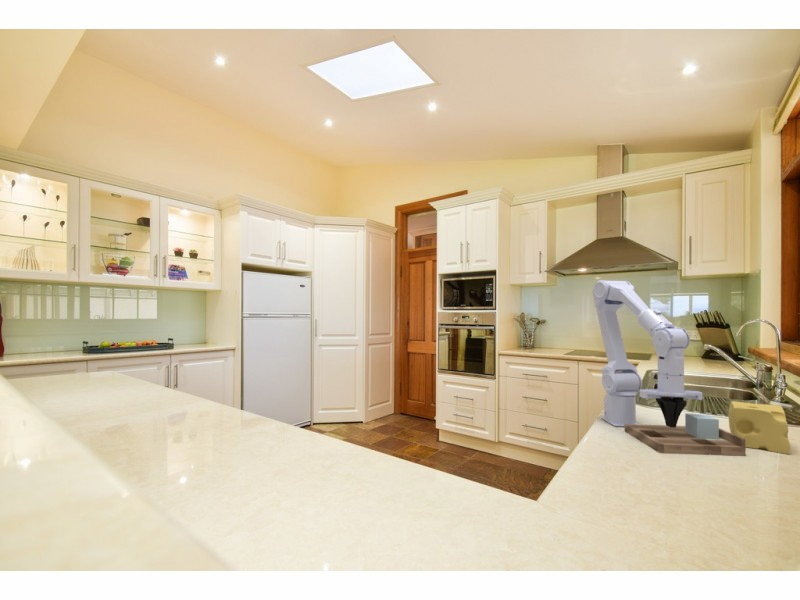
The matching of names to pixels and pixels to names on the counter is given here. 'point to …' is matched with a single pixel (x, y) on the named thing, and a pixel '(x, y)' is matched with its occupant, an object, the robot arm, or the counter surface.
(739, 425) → the cheese
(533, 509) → the counter surface
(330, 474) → the counter surface
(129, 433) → the counter surface
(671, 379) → the robot arm
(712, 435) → the blue block
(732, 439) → the board
